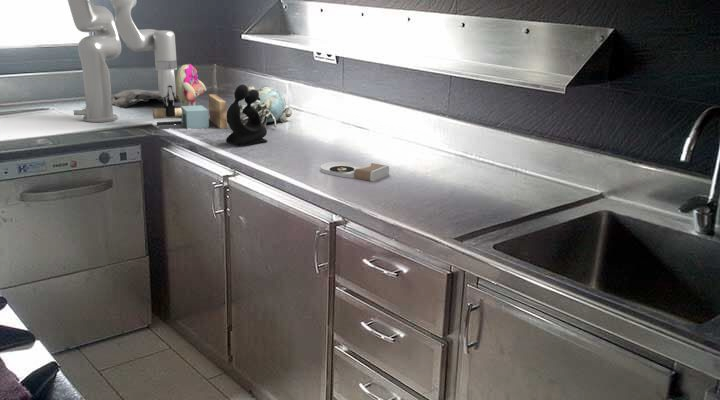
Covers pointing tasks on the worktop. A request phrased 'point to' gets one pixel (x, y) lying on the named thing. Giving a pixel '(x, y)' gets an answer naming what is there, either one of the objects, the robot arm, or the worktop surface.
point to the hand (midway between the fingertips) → (169, 115)
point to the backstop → (217, 111)
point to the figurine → (254, 126)
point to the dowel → (162, 113)
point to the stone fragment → (135, 97)
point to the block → (195, 116)
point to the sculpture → (269, 106)
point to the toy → (188, 85)
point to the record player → (355, 170)
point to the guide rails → (170, 125)
